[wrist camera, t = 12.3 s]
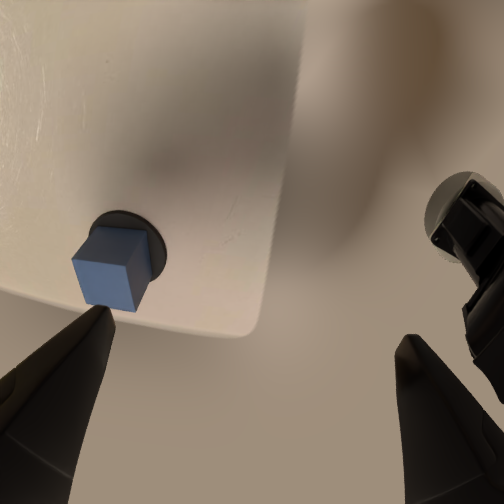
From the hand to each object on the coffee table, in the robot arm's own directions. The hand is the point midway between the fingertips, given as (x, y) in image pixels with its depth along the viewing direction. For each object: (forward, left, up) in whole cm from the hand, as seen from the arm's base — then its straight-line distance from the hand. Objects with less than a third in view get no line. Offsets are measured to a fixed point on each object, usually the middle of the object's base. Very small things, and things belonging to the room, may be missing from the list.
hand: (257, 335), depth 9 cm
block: (+7, +9, -11) cm, 16 cm away
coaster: (+7, +9, -12) cm, 16 cm away
